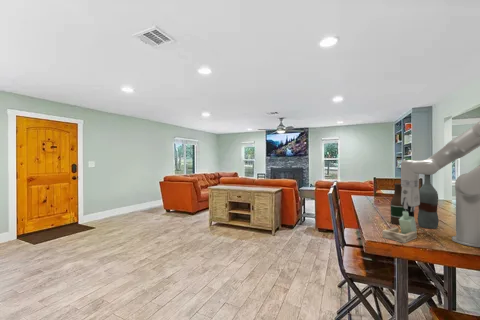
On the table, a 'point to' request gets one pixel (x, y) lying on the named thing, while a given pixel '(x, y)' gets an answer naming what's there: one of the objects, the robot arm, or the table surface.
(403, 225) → the bottle
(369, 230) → the table surface
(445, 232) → the table surface
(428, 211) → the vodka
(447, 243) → the table surface
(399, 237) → the cradle
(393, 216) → the beer bottle
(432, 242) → the table surface
